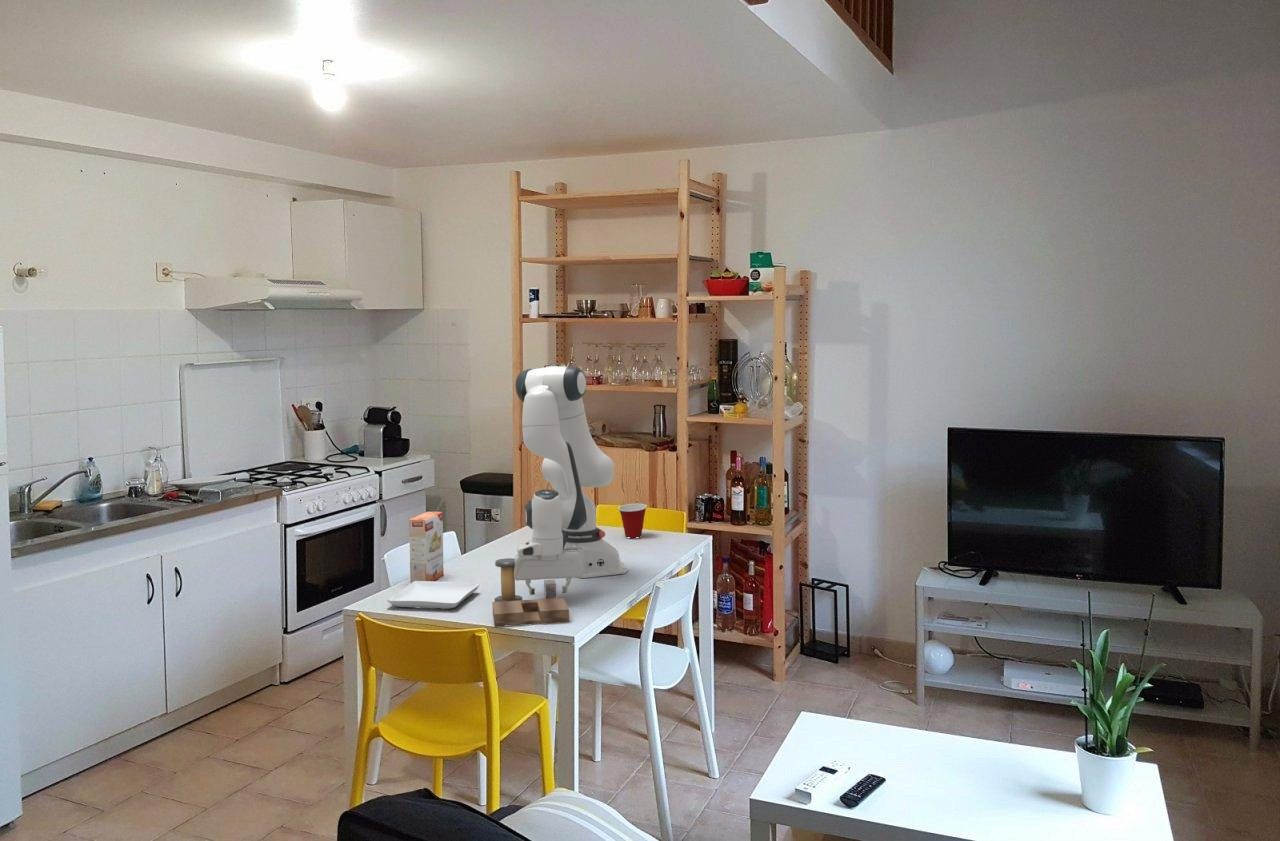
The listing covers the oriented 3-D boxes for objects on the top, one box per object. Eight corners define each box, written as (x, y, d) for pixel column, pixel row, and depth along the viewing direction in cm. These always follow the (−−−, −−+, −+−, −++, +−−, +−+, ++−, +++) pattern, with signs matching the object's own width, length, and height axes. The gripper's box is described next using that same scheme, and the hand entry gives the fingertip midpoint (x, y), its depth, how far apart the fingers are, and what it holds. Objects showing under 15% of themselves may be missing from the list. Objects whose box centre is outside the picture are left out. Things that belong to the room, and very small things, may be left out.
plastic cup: (612, 537, 387) (611, 506, 386) (633, 533, 394) (633, 502, 393) (631, 542, 379) (631, 509, 378) (653, 537, 386) (652, 505, 385)
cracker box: (428, 586, 319) (425, 519, 317) (409, 585, 321) (407, 519, 318) (445, 575, 333) (443, 511, 331) (427, 574, 334) (425, 510, 332)
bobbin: (521, 599, 303) (520, 557, 302) (523, 606, 296) (522, 563, 294) (494, 600, 302) (492, 558, 301) (495, 608, 294) (494, 565, 293)
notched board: (564, 609, 292) (563, 597, 291) (569, 621, 280) (568, 609, 280) (492, 614, 288) (492, 602, 288) (494, 626, 276) (494, 614, 276)
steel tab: (554, 599, 303) (554, 579, 302) (556, 604, 298) (556, 583, 297) (544, 600, 302) (543, 580, 302) (546, 604, 297) (545, 584, 297)
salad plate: (456, 613, 291) (456, 601, 290) (385, 610, 294) (385, 599, 294) (481, 593, 311) (481, 582, 311) (414, 591, 315) (414, 580, 315)
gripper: (582, 542, 303) (582, 588, 305) (512, 545, 300) (513, 592, 301) (584, 547, 297) (585, 594, 298) (513, 550, 294) (514, 598, 295)
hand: (548, 593), depth 300 cm, fingers open, 8 cm apart
